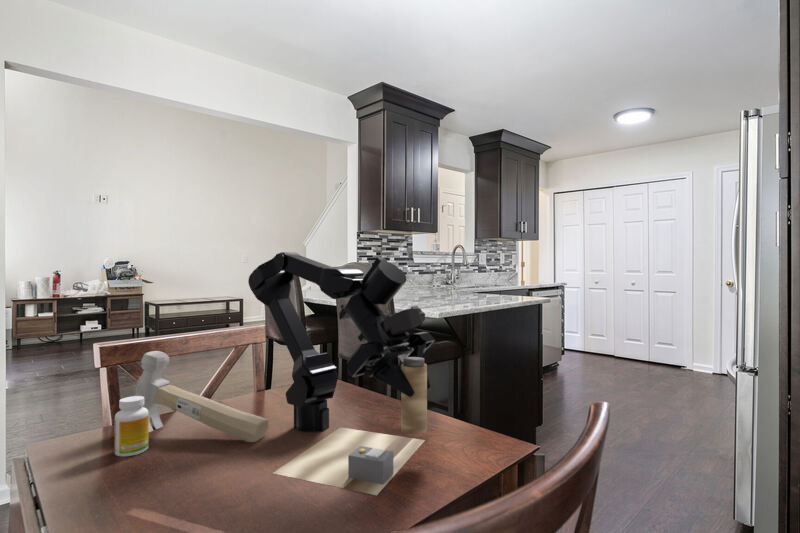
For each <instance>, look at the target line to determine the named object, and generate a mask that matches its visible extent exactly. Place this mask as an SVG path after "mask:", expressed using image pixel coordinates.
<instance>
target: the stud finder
mask: <svg viewBox="0 0 800 533" xmlns="http://www.w3.org/2000/svg"><path fill="white" fill-rule="evenodd" d="M392 474H393V451H388V450H383V449H377V448H370V447H364V446H359V447H358V448H357V449H356V450H354V451H353V452H352V453H351V454H349V455H348V478H353V479H358V480H363V481H368V482H373V483H378V484H384V483H385V482H386V481H387V480H388V479H389V478H390V476H391V475H392Z"/></svg>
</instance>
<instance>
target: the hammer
mask: <svg viewBox="0 0 800 533" xmlns="http://www.w3.org/2000/svg"><path fill="white" fill-rule="evenodd" d="M140 361H141V369H142V370H143V371H142V374H141V375H140V376H139V377H138V380H137V381H136V385H135V391H134V394H133V396H143V397H144V406H143V407H144V408H146V409H147V410H148V413H149V419H148V422H149V424H148V426H149V430H148V431H149V433H151V432H154V429H155V430H159V429H160V428H163V427H164V425H163V421H162V420H161V417H160V411H159V405H162V406H164V407H167V408H169V409H172V410H174V411H177V412H179V413H181V414H183V415H184V416H187V417H189V418H192V419H194V420H196V421H198V422H200V423H202V424H204V425H207V426H208V427H210V428H212V429H215V430H217V431H218V430H219V431H221V432H223V433H225V434H229V435H231V436H232V437H234V438H238V439H239V440H243V441H244V442H247V443H257V442H258V441H259V440H261V439H263V438H264V437H265V436H266V434H267V430H268V428H269V419H268V418H265V417H263V416H259V415H256V414H252V413H249V412H246V411H242V410H239V409H237V408H235V407H231V406H228V405H226V404H223V403H221V402H218V401H215V400H214V399H213V400H212V399H210V398H208V397H205V396H203V395H199V394H197V393H194V392H191V391H189V390H188V391H187V390H185V389H182V388H180V387H178V386H175V385H173V384H170V380H167V379H164V378H163V377H162V374H163V371H164V370H167V368H168V366H169V364H170V356H169V355H168V354H167V353H166V352H163V351H160V350H153V351H152V350H151V351H148V352H145V353H144V354H143V356H142V357H141V360H140ZM153 428H154V429H153Z"/></svg>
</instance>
